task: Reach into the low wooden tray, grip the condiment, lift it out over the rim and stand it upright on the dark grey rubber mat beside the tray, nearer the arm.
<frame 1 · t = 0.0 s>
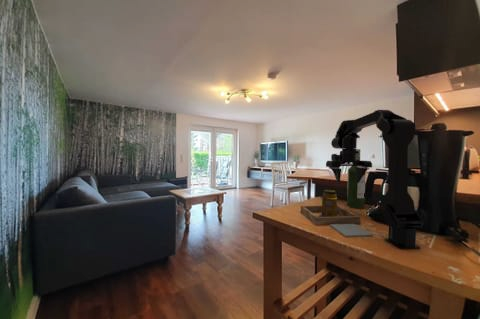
hand: (348, 182, 91), 15 cm above the table, tool pointing down, fingers open, 9 cm apart
rubber mat: (349, 230, 74), on the table
wooden tray: (327, 217, 87), on the table
wine bottle: (355, 206, 104), on the table
condiment: (327, 218, 88), resting in wooden tray
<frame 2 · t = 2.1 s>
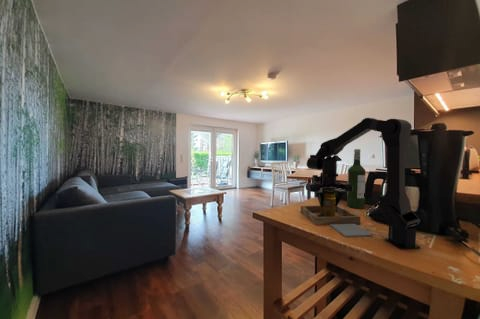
hand: (328, 206, 87), 5 cm above the table, tool pointing down, fingers closed on condiment, 6 cm apart
condiment: (326, 218, 87), resting in wooden tray, touching gripper
everything else where it was.
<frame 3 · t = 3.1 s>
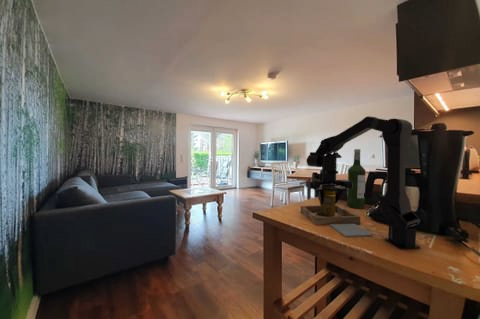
hand: (328, 203, 87), 6 cm above the table, tool pointing down, fingers closed on condiment, 6 cm apart
condiment: (326, 215, 87), point 1 cm above the table, touching gripper
everything else where it was.
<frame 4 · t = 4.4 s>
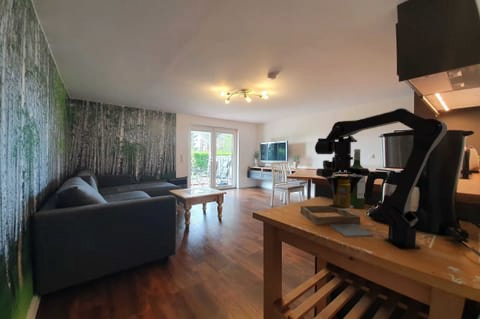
hand: (342, 194, 78), 13 cm above the table, tool pointing down, fingers closed on condiment, 6 cm apart
condiment: (340, 207, 78), point 7 cm above the table, touching gripper
everything else where it was.
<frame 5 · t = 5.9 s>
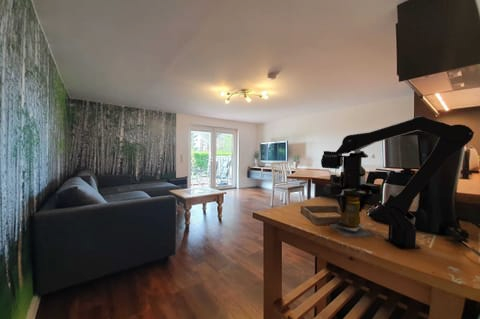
hand: (350, 212, 73), 7 cm above the table, tool pointing down, fingers closed on condiment, 6 cm apart
condiment: (348, 226, 73), point 2 cm above the table, touching gripper
everything else where it was.
when the fingers open (7 cm above the table, at t = 6.7 s): condiment drops 1 cm, resting on rubber mat.
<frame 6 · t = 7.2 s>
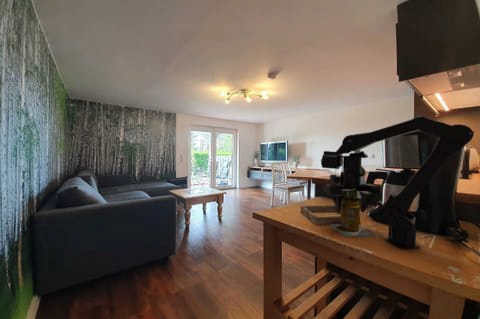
hand: (350, 212, 73), 7 cm above the table, tool pointing down, fingers open, 9 cm apart
condiment: (348, 229, 73), resting on rubber mat
everything else where it was.
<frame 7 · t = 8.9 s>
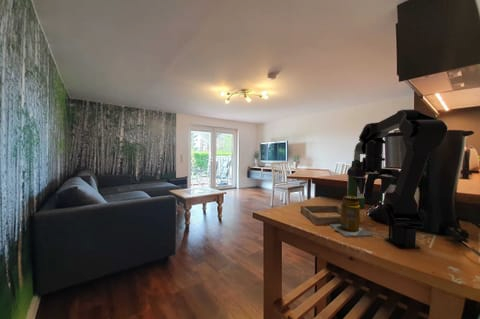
hand: (372, 193, 81), 12 cm above the table, tool pointing down, fingers open, 9 cm apart
nothing on the table moved.
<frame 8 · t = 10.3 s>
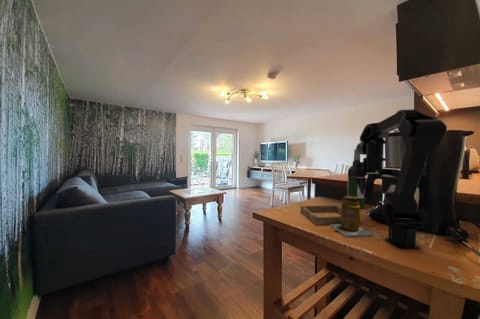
hand: (373, 193, 81), 12 cm above the table, tool pointing down, fingers open, 9 cm apart
nothing on the table moved.
at the end: condiment inside the target area (0.7 cm from its centre), resting on rubber mat; condiment tilted 0°; the gripper is holding nothing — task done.
